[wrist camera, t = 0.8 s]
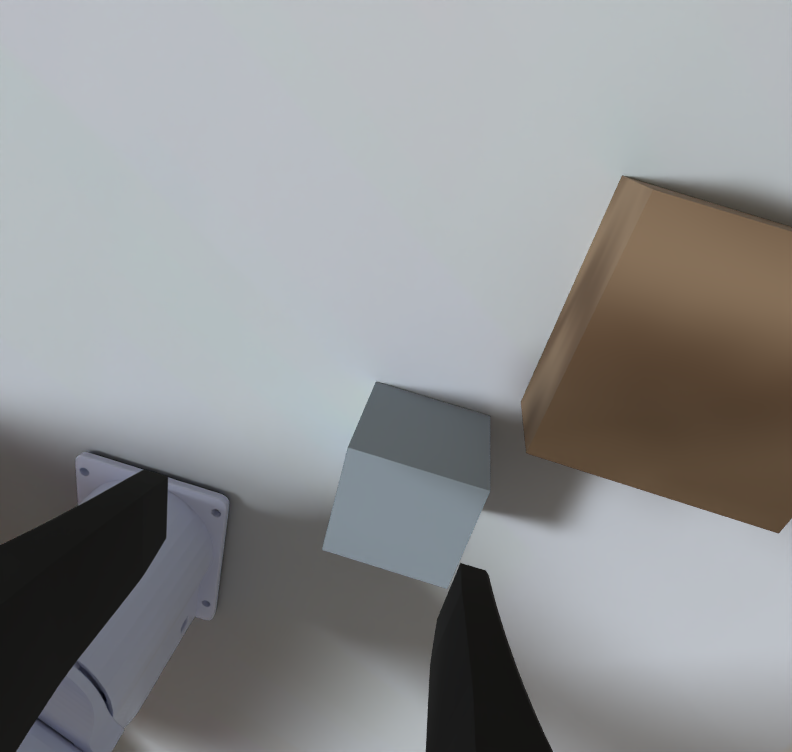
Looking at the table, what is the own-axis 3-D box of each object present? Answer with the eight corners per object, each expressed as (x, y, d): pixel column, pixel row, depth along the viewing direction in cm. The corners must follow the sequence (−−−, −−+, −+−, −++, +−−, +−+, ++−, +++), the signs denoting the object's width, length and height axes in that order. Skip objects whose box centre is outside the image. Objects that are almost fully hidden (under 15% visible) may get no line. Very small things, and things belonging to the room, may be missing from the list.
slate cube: (454, 502, 24) (447, 589, 20) (352, 470, 24) (321, 549, 20) (490, 415, 22) (490, 490, 17) (376, 380, 22) (348, 447, 18)
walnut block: (730, 464, 21) (778, 533, 18) (520, 397, 22) (526, 453, 18) (883, 254, 17) (986, 290, 14) (619, 174, 17) (653, 189, 14)
